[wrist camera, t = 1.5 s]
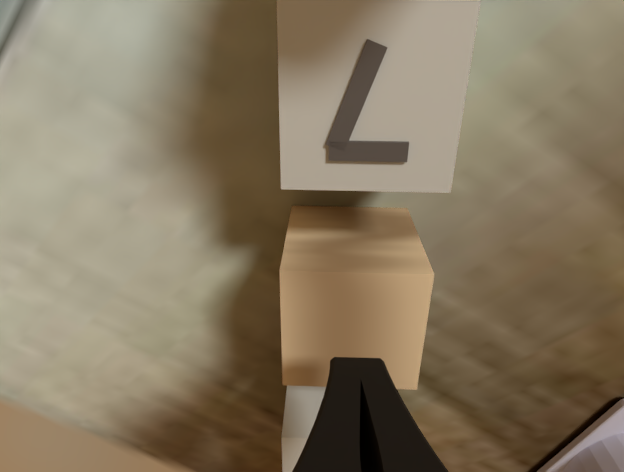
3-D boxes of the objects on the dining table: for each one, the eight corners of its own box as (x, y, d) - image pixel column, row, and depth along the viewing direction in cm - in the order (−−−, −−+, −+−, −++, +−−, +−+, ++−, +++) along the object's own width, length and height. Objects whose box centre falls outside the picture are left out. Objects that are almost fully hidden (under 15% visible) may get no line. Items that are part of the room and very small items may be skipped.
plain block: (407, 207, 17) (434, 274, 13) (396, 303, 19) (416, 389, 15) (291, 204, 18) (279, 270, 13) (293, 300, 20) (282, 385, 15)
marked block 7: (433, 4, 14) (482, 0, 10) (416, 143, 16) (451, 194, 12) (292, 3, 14) (276, -2, 10) (293, 141, 16) (280, 191, 12)
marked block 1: (388, 348, 21) (406, 444, 16) (381, 418, 23) (394, 520, 18) (291, 345, 21) (281, 440, 16) (292, 415, 23) (283, 516, 18)
